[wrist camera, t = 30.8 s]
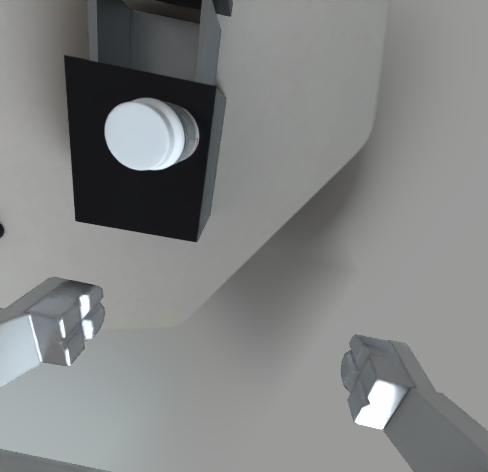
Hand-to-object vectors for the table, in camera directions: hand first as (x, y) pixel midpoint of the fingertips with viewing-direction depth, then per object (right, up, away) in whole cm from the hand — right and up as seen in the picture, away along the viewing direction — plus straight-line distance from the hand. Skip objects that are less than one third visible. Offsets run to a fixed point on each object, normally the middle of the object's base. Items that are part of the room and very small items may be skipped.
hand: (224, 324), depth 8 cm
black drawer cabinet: (-9, +14, +25) cm, 30 cm away
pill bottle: (-6, +12, +15) cm, 20 cm away
